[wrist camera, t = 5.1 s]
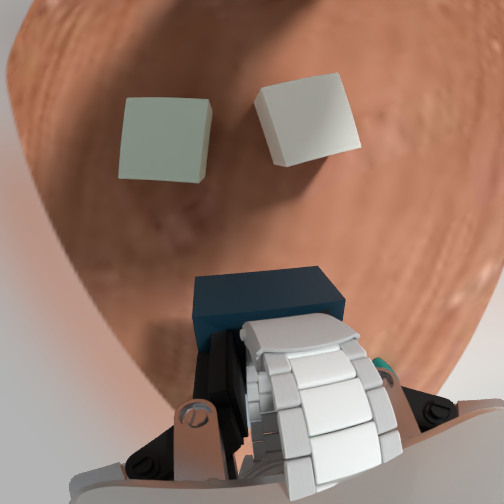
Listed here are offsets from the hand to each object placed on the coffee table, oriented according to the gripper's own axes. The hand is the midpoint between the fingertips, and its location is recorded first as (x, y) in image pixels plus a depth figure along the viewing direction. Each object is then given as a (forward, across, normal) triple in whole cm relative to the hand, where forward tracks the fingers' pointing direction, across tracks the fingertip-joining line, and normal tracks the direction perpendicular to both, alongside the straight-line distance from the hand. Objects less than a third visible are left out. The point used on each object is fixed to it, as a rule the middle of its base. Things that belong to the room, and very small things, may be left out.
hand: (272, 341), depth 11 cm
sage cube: (+13, +4, -9) cm, 16 cm away
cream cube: (+13, -4, -9) cm, 16 cm away
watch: (+3, 0, 0) cm, 3 cm away
